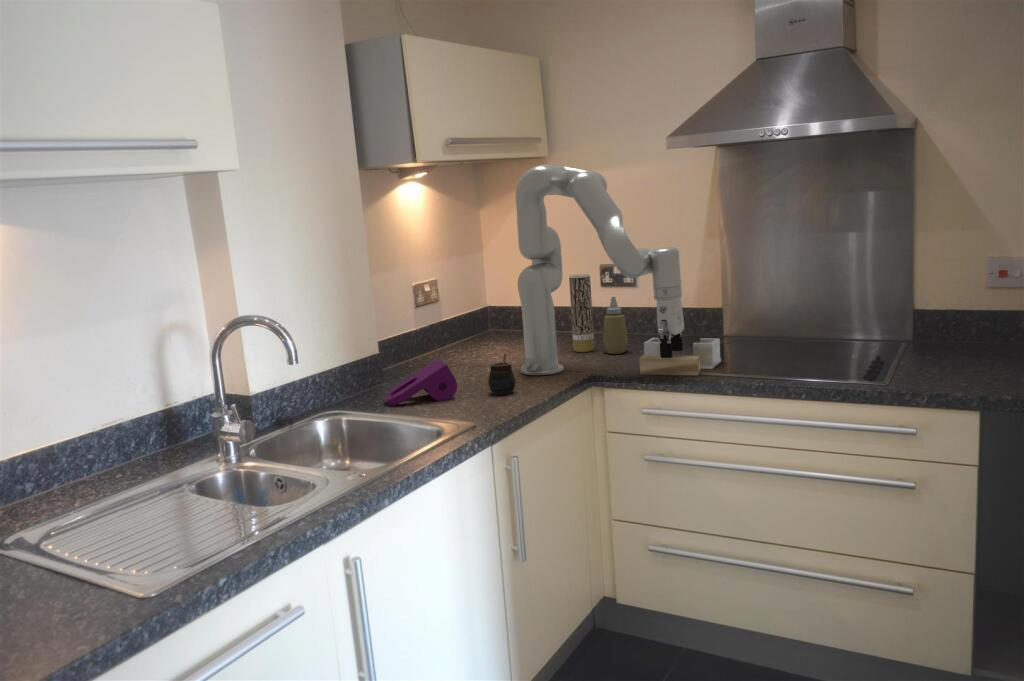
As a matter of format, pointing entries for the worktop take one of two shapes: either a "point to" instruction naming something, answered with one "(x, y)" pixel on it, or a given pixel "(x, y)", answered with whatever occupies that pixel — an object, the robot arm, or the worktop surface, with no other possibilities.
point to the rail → (670, 365)
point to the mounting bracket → (426, 384)
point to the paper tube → (581, 312)
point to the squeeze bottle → (615, 330)
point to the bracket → (705, 349)
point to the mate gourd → (501, 378)
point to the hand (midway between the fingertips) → (671, 354)
